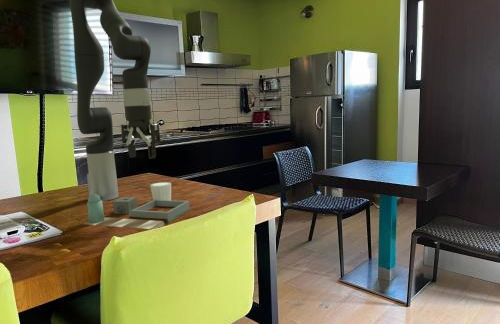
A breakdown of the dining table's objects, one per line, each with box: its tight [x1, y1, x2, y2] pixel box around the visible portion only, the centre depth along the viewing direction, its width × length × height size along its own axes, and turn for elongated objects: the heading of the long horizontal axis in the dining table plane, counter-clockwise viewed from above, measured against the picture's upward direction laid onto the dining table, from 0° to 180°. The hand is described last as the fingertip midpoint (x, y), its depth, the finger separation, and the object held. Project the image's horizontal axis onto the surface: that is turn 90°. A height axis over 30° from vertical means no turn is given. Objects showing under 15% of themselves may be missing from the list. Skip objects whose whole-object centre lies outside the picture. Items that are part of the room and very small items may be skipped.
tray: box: [130, 199, 191, 224], centre depth 112 cm, size 12×12×3 cm
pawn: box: [86, 194, 105, 224], centre depth 105 cm, size 4×4×8 cm
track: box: [83, 216, 165, 230], centre depth 103 cm, size 22×7×1 cm, turn 71°
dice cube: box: [112, 196, 138, 215], centre depth 115 cm, size 5×5×5 cm
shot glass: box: [149, 181, 172, 201], centre depth 125 cm, size 7×7×7 cm
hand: (142, 157), depth 115 cm, fingers open, 8 cm apart
